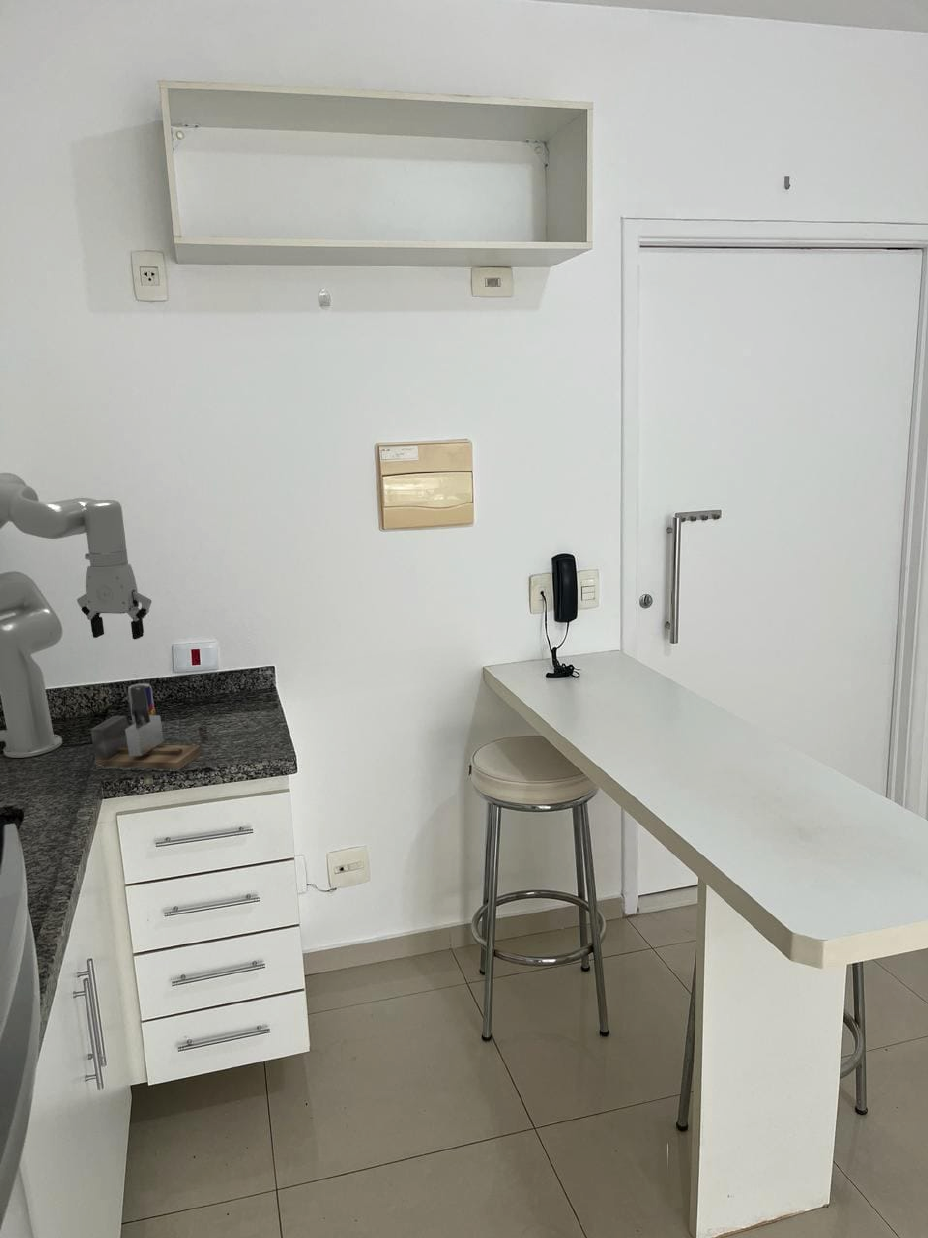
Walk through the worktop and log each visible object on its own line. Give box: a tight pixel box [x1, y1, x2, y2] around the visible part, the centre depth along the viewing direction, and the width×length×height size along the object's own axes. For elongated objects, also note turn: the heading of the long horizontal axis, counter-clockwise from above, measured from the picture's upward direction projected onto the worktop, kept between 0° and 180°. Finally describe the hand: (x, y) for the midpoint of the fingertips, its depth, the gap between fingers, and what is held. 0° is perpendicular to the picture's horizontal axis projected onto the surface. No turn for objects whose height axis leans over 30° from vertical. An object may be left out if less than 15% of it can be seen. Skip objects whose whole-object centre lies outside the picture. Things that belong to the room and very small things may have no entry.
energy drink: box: [127, 682, 156, 725], centre depth 224 cm, size 5×5×12 cm
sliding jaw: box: [125, 685, 165, 756], centre depth 204 cm, size 3×9×14 cm, turn 167°
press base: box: [90, 715, 202, 770], centre depth 206 cm, size 20×10×9 cm, turn 77°
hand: (118, 637), depth 203 cm, fingers open, 9 cm apart
